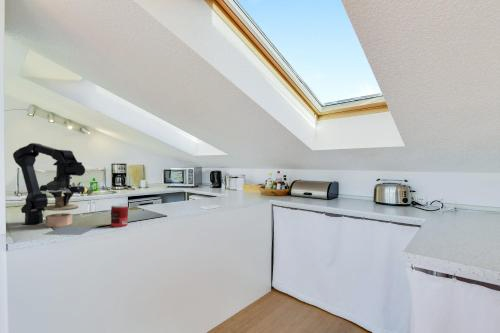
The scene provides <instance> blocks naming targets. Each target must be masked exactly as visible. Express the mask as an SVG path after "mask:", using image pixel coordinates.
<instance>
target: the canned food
mask: <svg viewBox="0 0 500 333" xmlns="http://www.w3.org/2000/svg"><path fill="white" fill-rule="evenodd" d="M110 207H111V210H110V226H111V228H124V227H127V226H128V224H129V223H128V220H129V218H128V217H129V205H128V203H127V204H126V203H118V204H117V203H116V204H115V203H114V204H111V206H110Z"/></svg>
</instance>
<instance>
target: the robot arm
mask: <svg viewBox="0 0 500 333" xmlns="http://www.w3.org/2000/svg"><path fill="white" fill-rule="evenodd" d="M40 154H42V155H46V156H50V157H51V159H53V160H54V161H55V162H54V163H53V164H52V165H53V166H56V170H55V173H56V175H55V176H54V177H53V180H51V181H49V182H47V183H46V184H41V185H40V186H39V181H38V178H37V174H36V170H35V167H34V165H35V163H36V158H37V157H38V156H40ZM12 157H13V159H14V162H15V164H17V165H18V166H19V167H20V169H21V171H22V175H23V176H22V177H23V179H24V183H25V188H26V191H27V195H26V197H25V203H24V204H23V206H22V207H21V208H20V210H21V213H22V214H24V223H23V222H22V223H21V225H22V226H23V225H26V226H27V225H28V226H31V225H32V226H35V225H36V226H37V225H39V224H42V223H43V224H44V223H45V221H44V214H43V211H44V212H45V211H46V210H44V207H46V206H48V204H49V202H48V201H49V199H48V197H47V196H48V195H47V194H46V193H45V192H47V191H48V193H49V194H51V195H52V196H53V198H54V199H55V197H60V196H64V206H66V205H67V203H68V201H70V200H71V198H72V196H73V195H74V194H76V193H84V192H85V191H86V190H85V187H84V186H83V185H74V186H73V185H72V184H71V180H72V178H73V177H72V176H75V177H77V176H78V177H81V176H83V175H84V174H85V173H86V167H85V166H84V165H83V162H80V161H78V160H77V158H76V157H75V155H74V152H73V151H72V150H69V149H68V150H66V149H57V148H53V147H52V146H51V147H50V146H47V145H43V144H41V143H38V142H36V143H35V142H31V143H29V144H28V145H25V146H23V147H20V148H18V149H16V150H15V151H14V152H13V154H12ZM63 191H65V192H63ZM43 192H44V193H43ZM62 194H63V195H62Z"/></svg>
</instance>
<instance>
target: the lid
mask: <svg viewBox="0 0 500 333" xmlns="http://www.w3.org/2000/svg"><path fill="white" fill-rule="evenodd" d="M54 199H55V200H54V201H55V202H54V204H51V205H47V206H46V207H44V210H45V211H52V212H53V211H56V212H58V211H70V210H71V211H73V210H76V209H79V205H78V204H70V202H69V201H70V200H69V201H68V203H67V205H66V206H64V195H62V196H60V197H55V198H54Z"/></svg>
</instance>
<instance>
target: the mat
mask: <svg viewBox="0 0 500 333" xmlns="http://www.w3.org/2000/svg"><path fill="white" fill-rule="evenodd" d="M99 227H100V226H99V225H98V226H97V225H94V226H93V225H92V226H91V225H65V226H61V227H60V228H56V229H54V230H51V231H48V232H45V233H42V235H51V236H53V235H56V236H57V235H60V236H62V235H63V236H64V235H65V236H66V235H67V236H71V235H72V236H73V235H74V236H76V235H78V236H80V235H81V236H82V235H84V234H86V233H88V232H90V231H92V230H94V229H96V228H99Z"/></svg>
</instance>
